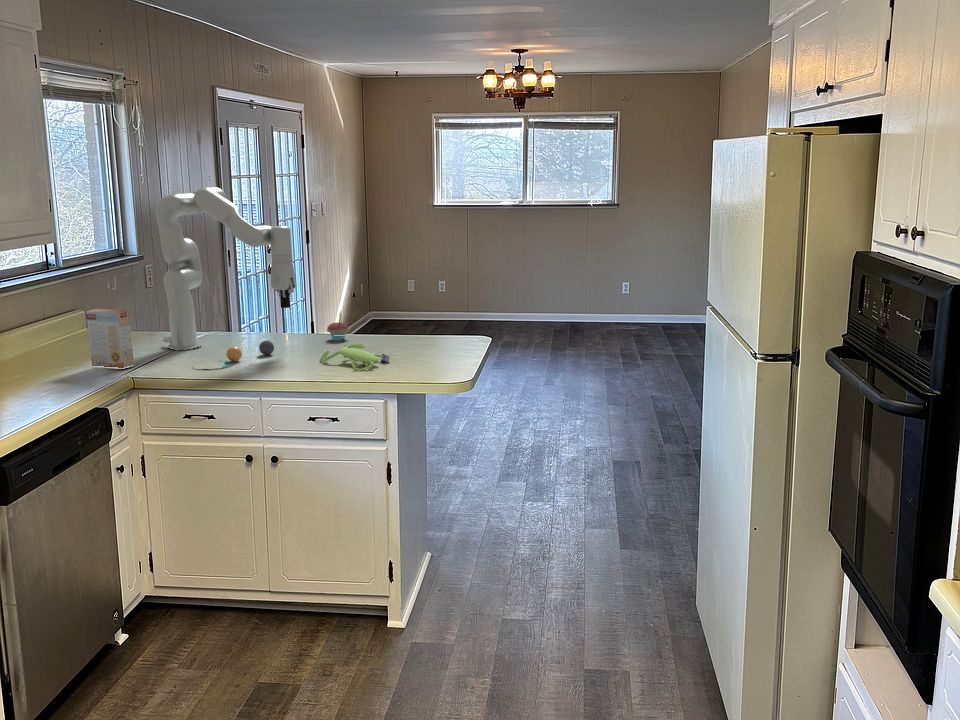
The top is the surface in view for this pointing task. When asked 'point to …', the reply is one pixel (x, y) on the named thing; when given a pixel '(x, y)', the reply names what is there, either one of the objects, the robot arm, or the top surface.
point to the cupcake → (337, 329)
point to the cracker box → (110, 338)
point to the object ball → (234, 354)
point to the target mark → (227, 364)
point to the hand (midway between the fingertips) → (285, 307)
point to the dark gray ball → (266, 347)
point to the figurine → (356, 356)
